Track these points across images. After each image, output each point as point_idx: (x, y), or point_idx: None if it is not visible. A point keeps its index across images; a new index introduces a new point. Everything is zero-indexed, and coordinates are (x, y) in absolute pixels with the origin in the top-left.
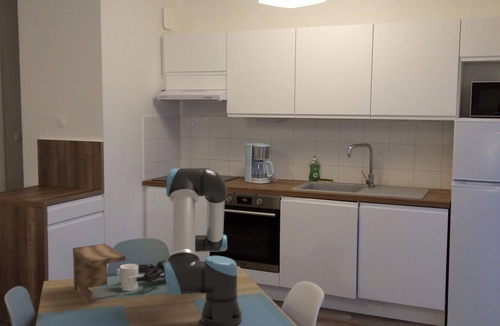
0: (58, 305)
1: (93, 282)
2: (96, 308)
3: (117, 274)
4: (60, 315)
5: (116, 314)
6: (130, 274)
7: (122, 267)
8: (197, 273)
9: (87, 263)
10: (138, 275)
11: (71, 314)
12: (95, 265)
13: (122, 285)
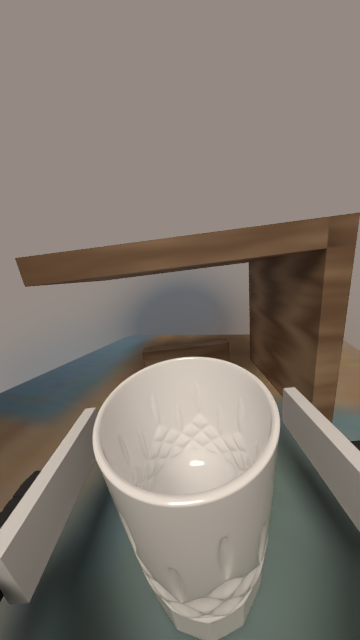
0: (171, 343)
1: (274, 373)
2: (103, 375)
3: (282, 415)
4: (128, 344)
5: (26, 398)
6: (123, 427)
7: (237, 383)
8: None
9: (266, 301)
10: (44, 484)
11: (118, 351)
12: (282, 319)
13: (188, 450)
